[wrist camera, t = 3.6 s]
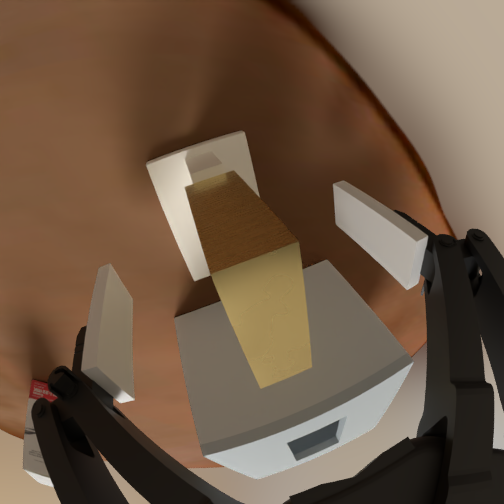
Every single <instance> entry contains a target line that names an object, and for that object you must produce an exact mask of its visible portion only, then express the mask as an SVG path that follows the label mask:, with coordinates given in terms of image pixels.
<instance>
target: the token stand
mask: <svg viewBox="0 0 504 504" xmlns="http://www.w3.org/2000/svg"><path fill="white" fill-rule="evenodd" d="M146 166H147V169H148V172H149V174H150V177H151V180H152V182H153V185H154V187H155V190H156V193H157V195H158V198H159V200H160V203H161V205H162V208H163V210H164V213H165V215H166V217H167V220H168V222H169V225H170V227H171V229H172V232H173V234H174V237H175V239H176V241H177V244H178V246H179V248H180V250H181V253H182V255H183V257H184V259H185V262H186V264H187V266H188V268H189V271H190V273H191V275H192V277H193V279H194V281H197V280H199V279H202V278H205V277H207V276H210V272H209V269H208V265H207V262H206V259H205V256H204V252H203V249H202V246H201V243H200V239H199V236H198V233H197V229H196V226H195V222H194V219H193V216H192V212H191V209H190V205H189V202H188V198H187V194H186V191H185V187H186V186H188V185H191V184H194V183H197V182H200V181H203V180H205V179H208V178H211V177H214V176H217V175H220V174H223V173H226V172H229V171H233V170H234V171H235V172H236V173H237V174H238V175H239V176H240V177H241V178H242V179H243V180H244V181H245V182H246V183H247V185H248V186H249V187H250V188H251V189H252V190H253V191H254V192H255V193H256V194H257V195H258V196H259V192H258V187H257V183H256V179H255V174H254V170H253V165H252V161H251V157H250V152H249V148H248V144H247V139H246V135H245V132H243V131H237V132H234V133H230V134H227V135H223V136H220V137H217V138H213V139H210V140H207V141H204V142H201V143H198V144H195V145H192V146H189V147H186V148H183V149H180V150H177V151H174V152H172V153H169V154H166V155H163V156H161V157H158V158H156V159H153V160H150V161H148V162H147V163H146ZM259 197H260V196H259Z"/></svg>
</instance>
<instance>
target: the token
mask: <svg viewBox="0 0 504 504" xmlns="http://www.w3.org/2000/svg"><path fill="white" fill-rule="evenodd" d="M185 191H186V194H187V198H188V202H189V205H190V209H191V212H192V216H193V219H194V222H195V226H196V229H197V233H198V236H199V239H200V243H201V246H202V249H203V252H204V256H205V259H206V262H207V265H208V269H209V272H210V275H211V277H212V280H213V282H214V285H215V287H216V289H217V292H218V294H219V297H220V299H221V301H222V304H223V306H224V308H225V311H226V313H227V315H228V318H229V320H230V322H231V325H232V327H233V329H234V332H235V334H236V336H237V338H238V341H239V343H240V345H241V347H242V350H243V352H244V354H245V356H246V358H247V361H248V363H249V365H250V367H251V369H252V371H253V374H254V376H255V378H256V380H257V382H258V384H259V386H260V388H261V389H262V388H264V387H267V386H269V385H272V384H274V383H277V382H279V381H282V380H284V379H287V378H289V377H291V376H294V375H296V374H298V373H301V372H303V371H305V370H307V369H309V368H312V358H311V346H310V335H309V324H308V314H307V304H306V295H305V286H304V278H303V270H302V262H301V254H300V246H299V241H298V240H297V239H296V238H295V236H294V235H293V234H292V233H291V232H290V231H289V230H288V228H287V227H286V226H285V225H284V224H283V223H282V222H281V221H280V220H279V218H278V217H277V216H276V215H275V214H274V213H273V212H272V211H271V210H270V208H269V207H268V206H267V205H266V204H265V203H264V202H263V201H262V200H261V199H260V197H259V196H258V195H257V194H256V193H255V192H254V191H253V190H252V189H251V188H250V187H249V186H248V185H247V183H246V182H245V181H244V180H243V179H242V178H241V177H240V176H239V175H238V174H237V173H236V172H235V171H234V170H233V171H229V172H226V173H223V174H220V175H217V176H214V177H211V178H208V179H205V180H203V181H200V182H197V183H194V184H191V185H188V186H186V187H185Z"/></svg>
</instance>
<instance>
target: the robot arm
mask: <svg viewBox="0 0 504 504" xmlns="http://www.w3.org/2000/svg"><path fill="white" fill-rule="evenodd" d="M333 191H334V205H335V222H336V225H337V226H338V227H339V228H340V229H342V230H343V231H344V232H345V233H346V234H347V235H348V236H350V237H351V238H352V239H353V240H354V241H355V242H356V243H358V244H359V245H360V246H361V247H362V248H363V249H364V250H365V251H366V252H367V253H369V254H370V255H371V256H372V257H373V258H374V259H375V260H376V261H377V262H378V263H379V264H380V265H382V266H383V267H384V268H385V269H386V270H387V271H388V272H389V273H390V274H391V275H392V276H393V277H394V278H395V279H396V280H397V281H398V282H399V283H400V284H401V285H402V286H403V287H404V288H405V289H406V290H408V289H410V288H411V287H413V286H415V285H416V284H418V282H419V278H420V274H421V275H422V276H424V277H425V280H424V284H423V287H422V291H421V295H423V293H424V291H425V303H426V320H427V377H426V393H425V404H424V412H423V416H422V418H421V421H420V423H419V426H418V431H417V437H416V438H413V439H409V438H408V437H407V438H405V439H404V440H402V441H401V442H399V443H398V444H396V445H395V446H393V447H391V448H390V449H389V450H387V451H385V452H383V453H382V454H380V455H379V456H378V457H377V458H376V459H374V460H373V461H372V462H370V463H369V464H368V465H367V466H366V467H365V468H363V469H362V470H361V471H360V472H359V473H357V474H356V475H355V476H354V477H352V478H348V479H344V480H339V481H335V482H330V483H326V484H321V485H318V486H316V487H314V488H311V489H308V490H306V491H304V492H301V493H298V494H295V495H292V496H290V499H289V500H287V501H286V502H284V503H283V504H504V450H501V449H494V448H493V434H494V391H493V387H492V385H491V384H489V383H486V381H485V375H484V362H483V352H482V343H481V337H482V340H483V343H484V345H485V349H486V351H487V354H488V357H489V361H490V364H491V367H492V370H493V374H494V377H495V381H496V385H497V389H498V393H499V397H500V401H501V404H502V408H503V411H504V258H503V257H502V255H501V254H500V252H499V251H498V249H497V248H496V246H495V245H494V244H493V242H492V241H491V240H490V238H489V237H488V236H487V235H486V234H485V233H484V232H483V231H481V230H478V229H470V230H469V231H467V235H466V239H461V240H456V239H455V238H454V237H452V236H450V235H446V234H439V235H435V234H434V233H432V232H431V231H430V230H428V229H427V228H425V227H424V226H423V225H421V224H420V223H417V221H415V220H414V219H412V218H411V217H410V216H408V215H407V214H405V213H403V212H400V211H397V210H394V211H392V210H391V209H389V208H388V207H386V206H385V205H383V204H381V203H380V202H378V201H377V200H375V199H374V198H372V197H370V196H369V195H367V194H366V193H364V192H362V191H361V190H359V189H357V188H356V187H354V186H352V185H351V184H349V183H347V182H346V181H344V180H343V181H340V182H337V183H334V184H333ZM480 269H481V271H482V276H481V275H480V274H479V270H480ZM132 314H133V299H132V297H131V296H130V294H129V292H128V291H127V289H126V288H125V286H124V285H123V283H122V281H121V280H120V278H119V277H118V275H117V273H116V272H115V270H114V268H113V267H112V265H111V263H109V264H107V265H104V266H102V267H99V269H98V273H97V277H96V282H95V286H94V291H93V296H92V300H91V306H90V311H89V316H88V322H87V326H84V327H82V328H81V330H80V331H79V333H78V335H77V339H76V347H75V352H74V353H75V354H74V359H73V367H72V371H71V370H70V369H68V368H67V367H66V366H59V367H57V368H56V369H54V370H53V371H52V373H51V374H50V376H49V379H48V385H47V386H48V390H49V391H50V392H51V393H53V394H54V395H55V396H57V397H58V398H57V399H55V400H54V401H52V402H50V401H48V400H47V399H46V398H39V399H37V400H36V401H35V403H34V404H33V406H32V410H31V417H32V421H33V425H34V429H35V433H36V437H37V440H38V444H39V447H40V451H41V454H42V457H43V460H44V463H45V466H46V468H47V471H48V474H49V476H50V479H51V482H52V484H53V486H54V489H55V491H56V493H57V496H58V498H59V500H60V502H61V504H129V503H128V502H127V500H126V498H125V497H124V495H123V494H122V492H121V491H120V489H119V487H118V486H117V484H116V482H115V481H114V479H113V478H112V476H111V474H110V472H109V470H108V469H107V467H106V465H105V463H104V461H103V459H102V458H101V456H100V454H99V452H98V450H99V451H100V453H101V454H102V455H103V456H104V457H105V458H106V460H107V461H108V462H109V463H110V464H111V465H112V466H113V467H114V468H115V470H117V472H118V473H119V474H120V475H121V476H122V477H123V478H124V479H125V480H126V481H127V482H128V483H129V484H130V485H131V486H132V487H133V488H134V489H135V490H136V491H137V492H138V493H139V494H141V495H142V496H143V497H144V498H145V499H146V500H147V501H148V502H149V503H150V504H244V503H241V502H239V501H237V500H235V499H233V498H231V497H230V496H228V495H226V494H225V493H223V492H221V491H219V490H218V489H217V488H215V487H213V486H212V485H210V484H209V483H207V482H206V481H204V480H203V479H201V478H200V477H198V476H197V475H195V474H194V473H193V472H191V471H190V470H188V469H187V468H186V467H184V466H183V465H182V464H180V463H179V462H178V461H176V460H175V459H174V458H172V457H171V456H170V455H169V454H167V453H166V452H165V451H164V450H162V449H161V448H160V447H159V446H158V445H156V444H155V443H154V442H153V441H152V440H151V439H149V438H148V437H147V436H146V435H145V434H144V433H143V432H142V431H140V430H139V429H138V428H137V427H136V426H135V425H134V424H133V423H132V422H131V421H130V420H129V419H128V418H127V417H126V416H125V415H124V414H123V413H122V412H121V411H120V410H119V409H118V408H116V407H115V406H114V405H113V398H114V399H116V400H117V401H118V402H120V403H123V402H128V401H132V400H135V395H134V379H133V352H132ZM480 335H481V336H480ZM97 449H98V450H97Z"/></svg>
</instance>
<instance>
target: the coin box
mask: <svg viewBox="0 0 504 504" xmlns="http://www.w3.org/2000/svg"><path fill="white" fill-rule="evenodd" d="M302 270H303V278H304V286H305V295H306V304H307V314H308V324H309V335H310V346H311V358H312V368H309V369H307V370H305V371H303V372H301V373H298V374H296V375H294V376H291V377H289V378H287V379H284V380H282V381H279V382H277V383H274V384H272V385H269V386H267V387H264V388H262V389H261V388H260V386H259V384H258V382H257V380H256V378H255V376H254V374H253V371H252V369H251V367H250V365H249V363H248V361H247V358H246V356H245V354H244V352H243V350H242V347H241V345H240V343H239V341H238V338H237V336H236V334H235V332H234V329H233V327H232V325H231V322H230V320H229V318H228V315H227V313H226V311H225V308H224V306H223V304H222V301H220V302H217V303H214V304H211V305H209V306H206V307H203V308H200V309H198V310H195V311H192V312H189V313H187V314H184V315H181V316H178V317H175V318H174V320H175V327H176V333H177V339H178V345H179V351H180V357H181V362H182V368H183V373H184V378H185V383H186V388H187V393H188V397H189V402H190V406H191V411H192V415H193V419H194V423H195V427H196V431H197V435H198V439H199V443H200V447H201V450H202V454H203V456H204V457H206V458H208V459H210V460H212V461H214V462H216V463H218V464H221V465H223V466H225V467H227V468H230V469H232V470H234V471H237V472H239V473H242V474H244V475H246V476H249V477H252V478H254V479H260V478H263V477H266V476H269V475H272V474H275V473H278V472H281V471H284V470H286V469H289V468H291V467H295V466H297V465H300V464H302V463H305V462H307V461H309V460H312V459H314V458H316V457H318V456H321V455H323V454H325V453H327V452H330V451H332V450H334V449H336V448H338V447H340V446H342V445H344V444H346V443H348V442H350V441H352V440H354V439H355V438H357V437H359V436H361V435H363V434H364V433H366V432H368V431H370V430H372V429H373V428H375V426H376V425H377V423H378V422H379V421H380V419H381V418H382V416H383V414H384V413H385V411H386V410H387V408H388V407H389V405H390V403H391V402H392V400H393V398H394V397H395V395H396V393H397V391H398V390H399V388H400V386H401V385H402V383H403V381H404V379H405V378H406V376H407V374H408V372H409V370H410V368H411V366H412V364H413V362H414V361H413V359H412V358H411V357H410V356H409V354H408V353H407V352H406V350H405V349H404V348H403V347H402V346H401V344H400V343H399V342H398V341H397V339H396V338H395V337H394V336H393V334H392V333H391V332H390V331H389V330H388V328H387V327H386V326H385V325H384V324H383V322H382V321H381V320H380V319H379V318H378V316H377V315H376V314H375V313H374V312H373V311H372V309H371V308H370V307H369V306H368V305H367V304H366V302H365V301H364V300H363V299H362V298H361V297H360V295H359V294H358V293H357V292H356V291H355V290H354V289H353V287H352V286H351V285H350V284H349V283H348V282H347V281H346V280H345V278H344V277H343V276H342V275H341V274H340V273H339V272H338V271H337V270H336V268H335V267H334V266H333V265H332V264H331V263H330V262H329V261H328V260H324V261H322V262H319V263H317V264H314V265H312V266H310V267H307V268H305V269H302Z"/></svg>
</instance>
